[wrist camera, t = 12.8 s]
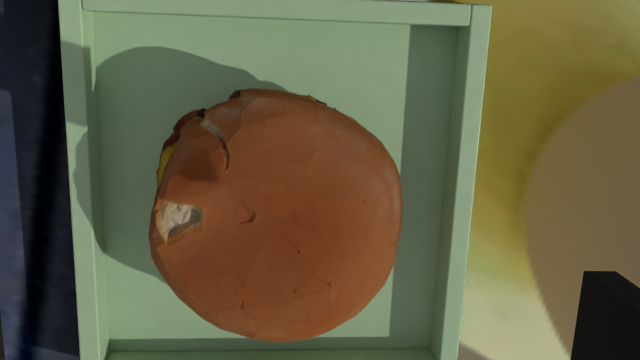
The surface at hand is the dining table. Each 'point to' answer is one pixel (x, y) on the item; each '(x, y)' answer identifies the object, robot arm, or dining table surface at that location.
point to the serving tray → (286, 75)
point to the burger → (275, 215)
